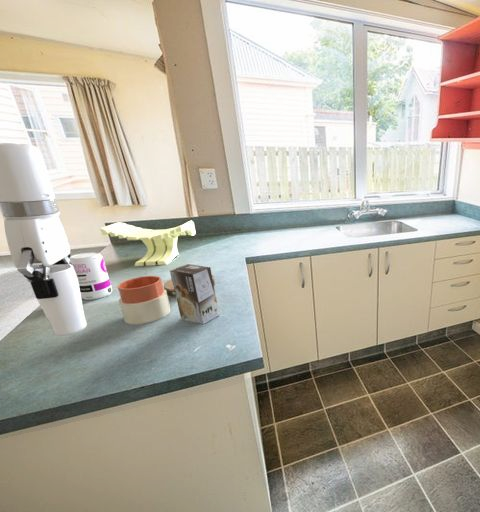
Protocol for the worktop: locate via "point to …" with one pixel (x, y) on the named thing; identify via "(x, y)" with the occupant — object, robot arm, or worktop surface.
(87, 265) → the supplement can
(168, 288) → the brown flat disc
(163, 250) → the slatted curved stool
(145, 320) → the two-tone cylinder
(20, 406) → the worktop surface
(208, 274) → the coffee box
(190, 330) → the worktop surface
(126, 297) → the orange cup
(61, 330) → the white tumbler
